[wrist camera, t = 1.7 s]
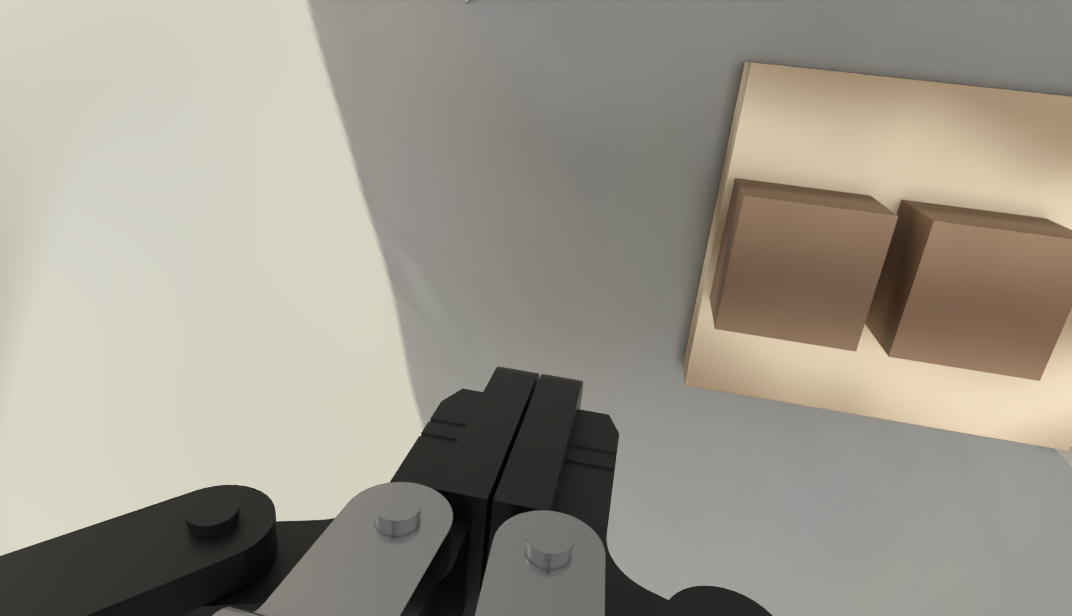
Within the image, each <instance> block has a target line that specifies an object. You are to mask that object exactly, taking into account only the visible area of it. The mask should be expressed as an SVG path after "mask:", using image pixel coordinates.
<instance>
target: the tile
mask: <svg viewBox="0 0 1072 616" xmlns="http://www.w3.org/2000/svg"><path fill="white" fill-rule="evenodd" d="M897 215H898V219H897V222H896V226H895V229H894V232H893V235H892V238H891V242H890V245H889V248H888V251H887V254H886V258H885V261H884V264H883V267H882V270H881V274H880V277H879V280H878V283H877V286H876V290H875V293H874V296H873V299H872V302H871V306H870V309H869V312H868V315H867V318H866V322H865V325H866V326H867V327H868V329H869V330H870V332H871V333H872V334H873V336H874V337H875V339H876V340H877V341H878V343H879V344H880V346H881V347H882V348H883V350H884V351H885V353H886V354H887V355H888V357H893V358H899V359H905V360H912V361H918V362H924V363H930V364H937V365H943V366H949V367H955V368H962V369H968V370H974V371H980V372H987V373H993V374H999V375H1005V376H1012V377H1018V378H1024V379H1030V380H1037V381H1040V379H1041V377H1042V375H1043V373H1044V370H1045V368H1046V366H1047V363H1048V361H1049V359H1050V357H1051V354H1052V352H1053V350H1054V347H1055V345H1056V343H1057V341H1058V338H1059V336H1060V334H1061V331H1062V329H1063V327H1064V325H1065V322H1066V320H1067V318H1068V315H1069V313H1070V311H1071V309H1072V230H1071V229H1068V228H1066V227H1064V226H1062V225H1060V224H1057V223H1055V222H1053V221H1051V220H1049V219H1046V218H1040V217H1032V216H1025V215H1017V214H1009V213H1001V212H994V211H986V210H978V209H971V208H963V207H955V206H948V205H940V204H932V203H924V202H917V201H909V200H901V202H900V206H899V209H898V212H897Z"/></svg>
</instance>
